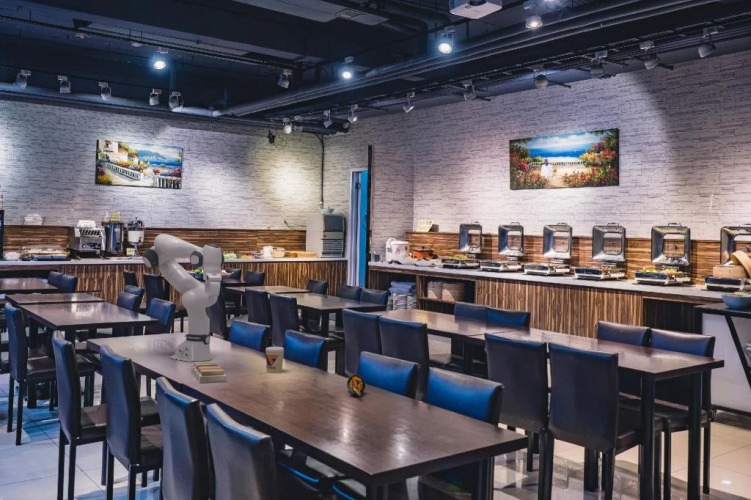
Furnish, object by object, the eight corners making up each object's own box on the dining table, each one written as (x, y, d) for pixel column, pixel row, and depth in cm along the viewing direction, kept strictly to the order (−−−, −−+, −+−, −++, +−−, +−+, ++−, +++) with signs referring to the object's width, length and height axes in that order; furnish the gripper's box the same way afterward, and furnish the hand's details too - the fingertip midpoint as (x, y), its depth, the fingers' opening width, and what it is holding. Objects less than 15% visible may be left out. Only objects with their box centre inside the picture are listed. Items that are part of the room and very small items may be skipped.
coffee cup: (261, 372, 348) (261, 348, 348) (272, 369, 356) (272, 346, 356) (276, 374, 343) (277, 350, 343) (287, 371, 352) (287, 347, 352)
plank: (197, 370, 331) (197, 366, 331) (218, 369, 335) (218, 365, 335) (202, 376, 319) (202, 371, 319) (223, 375, 323) (223, 370, 323)
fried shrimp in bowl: (363, 380, 314) (378, 375, 299) (356, 403, 310) (371, 399, 294) (345, 373, 312) (359, 367, 296) (338, 396, 308) (352, 392, 292)
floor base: (191, 371, 343) (191, 361, 342) (215, 370, 347) (215, 360, 347) (200, 383, 318) (200, 372, 318) (226, 381, 323) (226, 371, 323)
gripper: (202, 274, 352) (201, 301, 352) (209, 277, 333) (208, 306, 334) (214, 274, 355) (213, 301, 355) (222, 277, 336) (221, 305, 336)
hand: (211, 303), depth 344 cm, fingers closed
